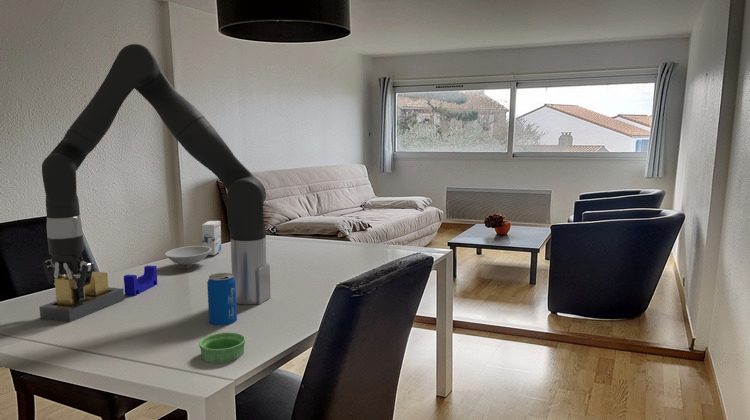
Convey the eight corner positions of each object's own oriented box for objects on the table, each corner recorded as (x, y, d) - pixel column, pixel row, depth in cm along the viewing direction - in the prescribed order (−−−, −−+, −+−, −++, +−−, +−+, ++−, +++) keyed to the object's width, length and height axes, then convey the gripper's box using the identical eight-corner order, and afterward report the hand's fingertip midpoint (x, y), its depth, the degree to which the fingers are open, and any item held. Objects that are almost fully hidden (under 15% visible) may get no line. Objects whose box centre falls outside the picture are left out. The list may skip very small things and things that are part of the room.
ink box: (209, 250, 206) (208, 220, 205) (222, 250, 206) (221, 220, 205) (202, 255, 198) (200, 224, 196) (215, 255, 198) (214, 224, 196)
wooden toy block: (85, 305, 134) (83, 275, 133) (71, 311, 130) (68, 280, 129) (71, 304, 136) (69, 274, 134) (57, 309, 131) (54, 278, 130)
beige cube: (109, 301, 142) (107, 272, 141) (96, 306, 138) (94, 277, 137) (95, 300, 143) (93, 271, 142) (83, 305, 139) (80, 275, 138)
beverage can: (222, 331, 123) (220, 281, 121) (203, 325, 126) (201, 277, 125) (242, 322, 128) (241, 274, 127) (224, 317, 132) (222, 271, 130)
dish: (193, 273, 173) (192, 258, 172) (155, 270, 177) (154, 255, 176) (221, 260, 190) (220, 246, 189) (185, 258, 193) (185, 244, 193)
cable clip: (143, 284, 161) (142, 265, 160) (157, 284, 160) (156, 265, 160) (120, 296, 149) (118, 275, 148) (135, 297, 149) (133, 276, 148)
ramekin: (190, 366, 105) (189, 345, 104) (219, 349, 113) (218, 329, 112) (228, 373, 102) (227, 352, 101) (254, 355, 110) (254, 335, 109)
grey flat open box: (124, 301, 144) (123, 288, 144) (70, 324, 127) (69, 310, 127) (97, 298, 147) (96, 286, 146) (40, 320, 130) (39, 306, 129)
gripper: (100, 233, 132) (105, 299, 134) (54, 230, 136) (60, 294, 138) (76, 239, 125) (82, 308, 127) (28, 235, 129) (35, 303, 131)
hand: (71, 300), depth 133 cm, fingers closed on wooden toy block, 4 cm apart
